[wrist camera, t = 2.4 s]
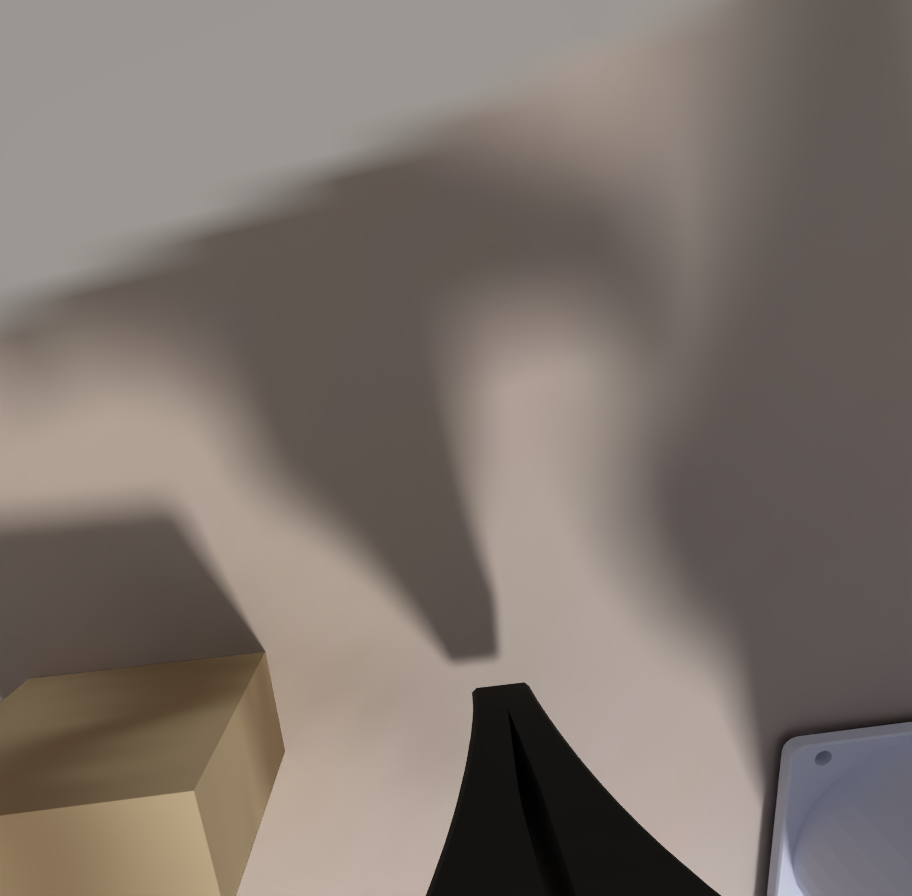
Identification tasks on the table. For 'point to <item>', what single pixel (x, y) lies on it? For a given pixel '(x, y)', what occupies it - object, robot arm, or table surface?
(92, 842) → the tan block
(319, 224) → the table surface
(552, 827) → the robot arm
